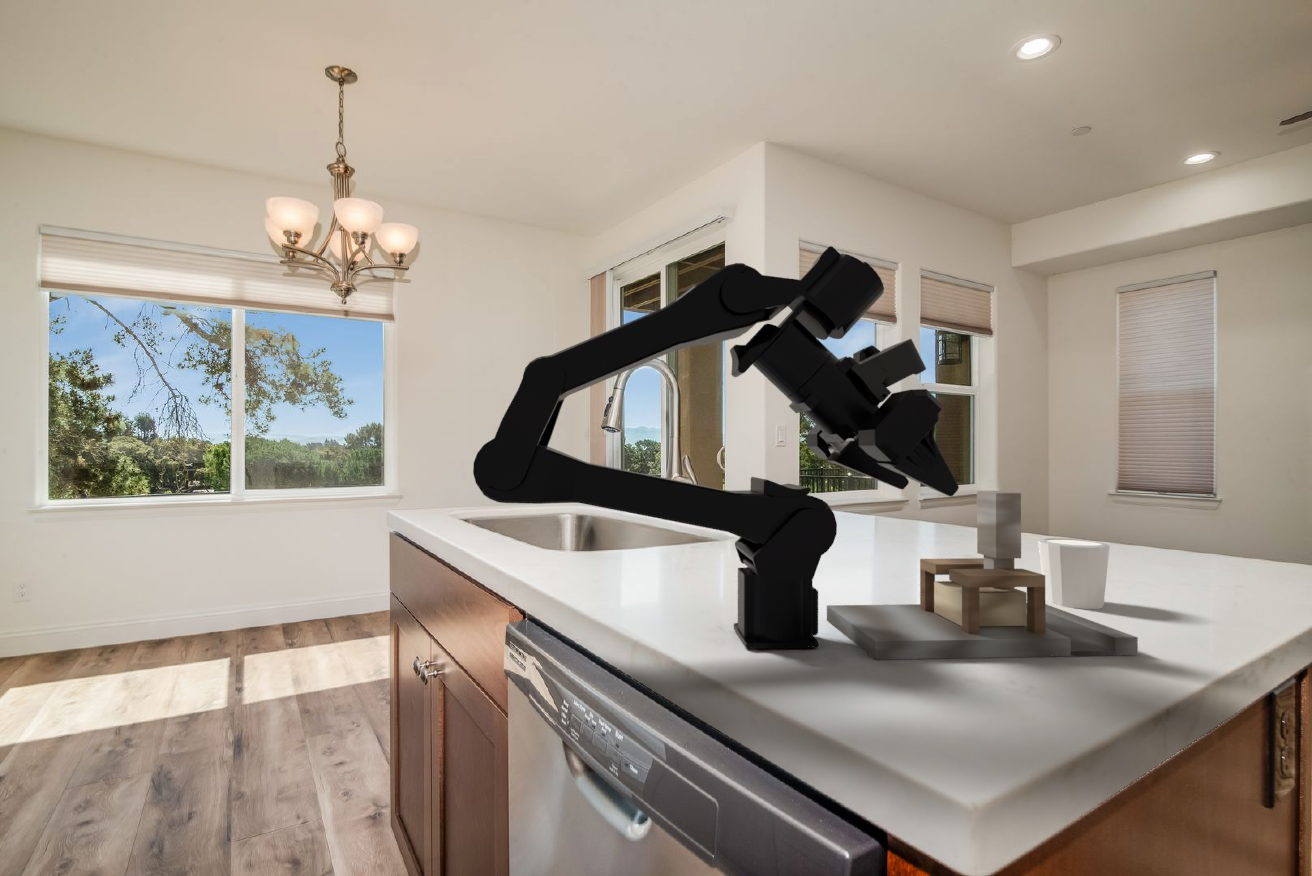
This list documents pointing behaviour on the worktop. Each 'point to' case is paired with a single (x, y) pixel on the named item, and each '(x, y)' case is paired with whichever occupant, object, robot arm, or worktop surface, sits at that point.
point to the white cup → (1074, 572)
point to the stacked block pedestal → (991, 564)
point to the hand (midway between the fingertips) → (928, 489)
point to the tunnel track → (975, 621)
